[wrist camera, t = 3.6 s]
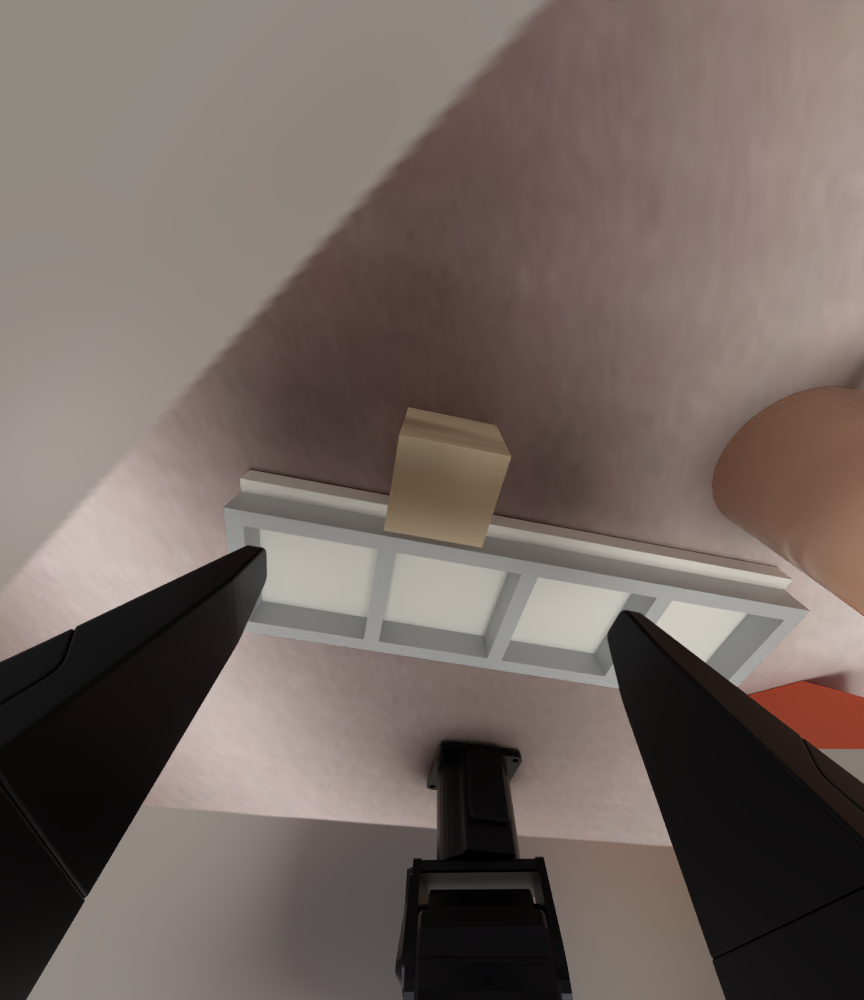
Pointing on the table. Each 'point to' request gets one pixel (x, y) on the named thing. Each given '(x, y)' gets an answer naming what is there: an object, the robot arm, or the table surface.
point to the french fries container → (822, 720)
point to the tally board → (492, 588)
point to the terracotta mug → (803, 485)
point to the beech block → (446, 478)
